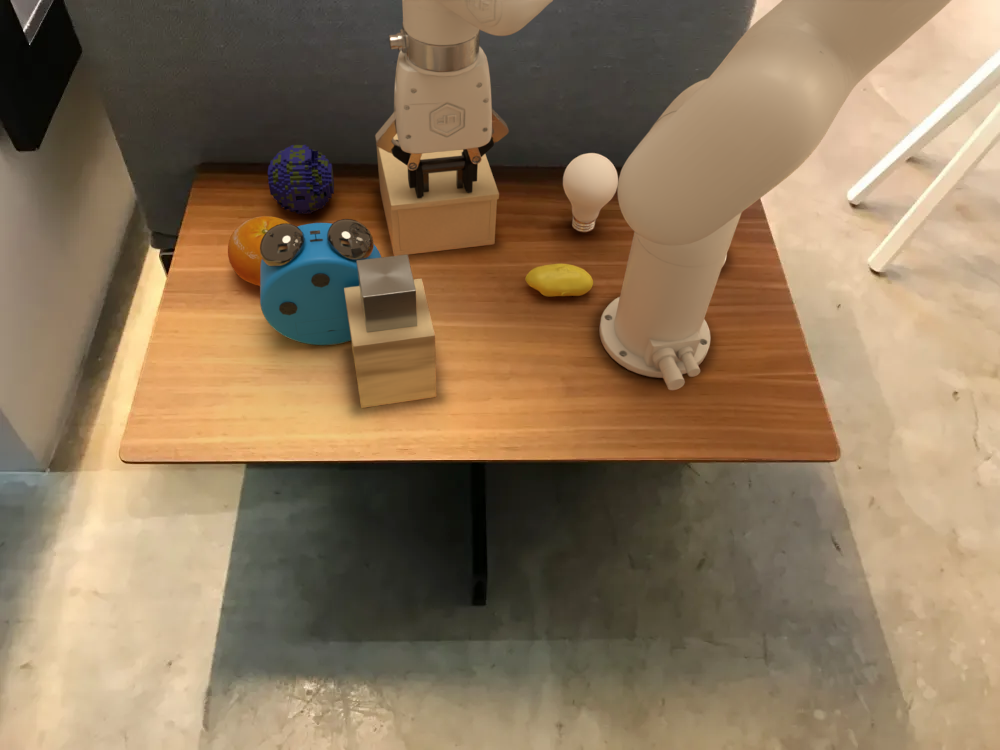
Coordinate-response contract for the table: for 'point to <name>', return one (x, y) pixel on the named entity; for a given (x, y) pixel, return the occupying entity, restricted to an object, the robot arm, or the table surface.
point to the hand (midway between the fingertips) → (442, 186)
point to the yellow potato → (559, 280)
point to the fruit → (250, 247)
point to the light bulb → (589, 188)
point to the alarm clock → (312, 278)
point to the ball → (300, 179)
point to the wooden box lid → (436, 180)
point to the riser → (393, 355)
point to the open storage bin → (438, 224)
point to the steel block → (387, 293)
